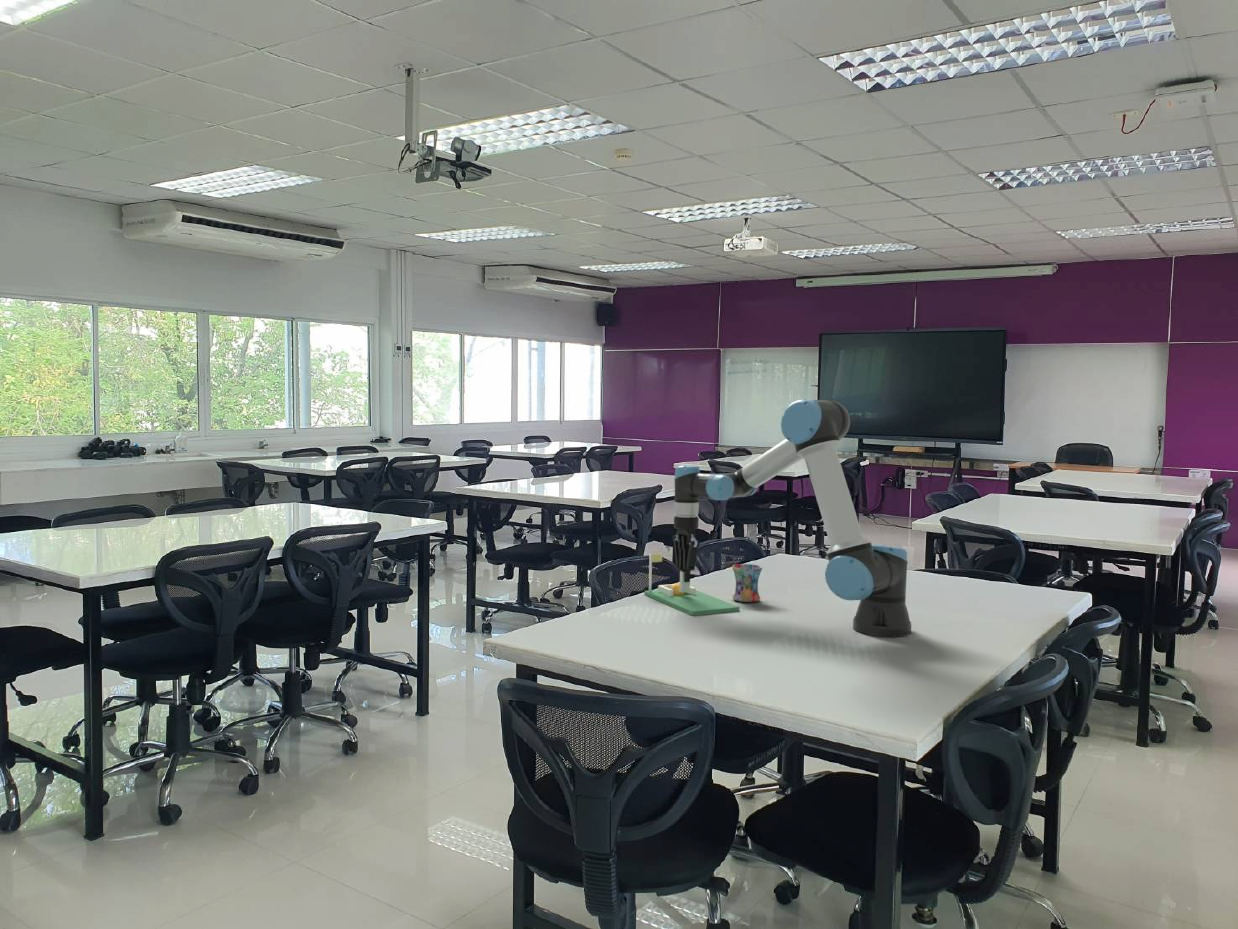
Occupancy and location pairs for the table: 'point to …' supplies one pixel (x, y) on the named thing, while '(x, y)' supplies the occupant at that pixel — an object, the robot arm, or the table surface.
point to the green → (687, 597)
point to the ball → (677, 590)
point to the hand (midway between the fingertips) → (684, 591)
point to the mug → (746, 582)
